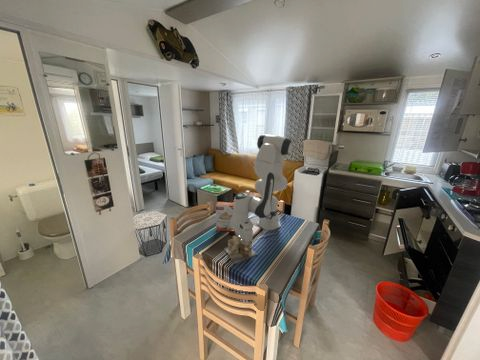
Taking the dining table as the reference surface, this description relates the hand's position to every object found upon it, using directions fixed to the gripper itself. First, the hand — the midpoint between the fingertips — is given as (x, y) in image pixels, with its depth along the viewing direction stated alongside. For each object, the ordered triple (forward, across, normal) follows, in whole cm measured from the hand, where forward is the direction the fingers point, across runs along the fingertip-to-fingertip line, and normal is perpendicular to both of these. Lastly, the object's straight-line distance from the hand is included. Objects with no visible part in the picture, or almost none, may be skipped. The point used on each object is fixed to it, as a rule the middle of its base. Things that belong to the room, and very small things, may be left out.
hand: (240, 240), depth 122 cm
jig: (+8, 0, 0) cm, 8 cm away
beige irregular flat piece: (+8, 0, 0) cm, 8 cm away
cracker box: (+9, -28, +5) cm, 29 cm away
